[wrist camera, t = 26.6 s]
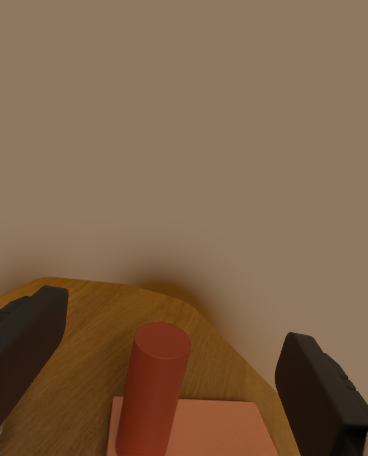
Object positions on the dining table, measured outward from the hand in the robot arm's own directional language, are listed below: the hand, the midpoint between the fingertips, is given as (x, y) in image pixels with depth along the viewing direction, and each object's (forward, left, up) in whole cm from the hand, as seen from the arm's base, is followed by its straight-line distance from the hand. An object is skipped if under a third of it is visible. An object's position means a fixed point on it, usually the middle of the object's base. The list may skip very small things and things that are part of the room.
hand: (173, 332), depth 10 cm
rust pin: (-2, -11, -19) cm, 22 cm away
